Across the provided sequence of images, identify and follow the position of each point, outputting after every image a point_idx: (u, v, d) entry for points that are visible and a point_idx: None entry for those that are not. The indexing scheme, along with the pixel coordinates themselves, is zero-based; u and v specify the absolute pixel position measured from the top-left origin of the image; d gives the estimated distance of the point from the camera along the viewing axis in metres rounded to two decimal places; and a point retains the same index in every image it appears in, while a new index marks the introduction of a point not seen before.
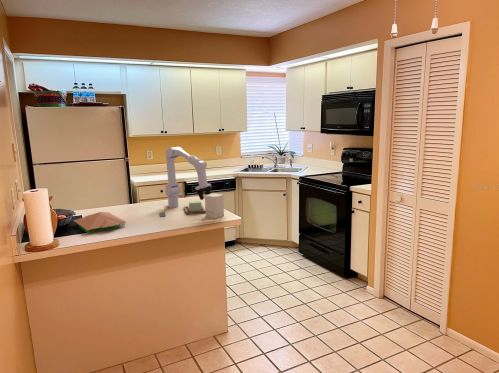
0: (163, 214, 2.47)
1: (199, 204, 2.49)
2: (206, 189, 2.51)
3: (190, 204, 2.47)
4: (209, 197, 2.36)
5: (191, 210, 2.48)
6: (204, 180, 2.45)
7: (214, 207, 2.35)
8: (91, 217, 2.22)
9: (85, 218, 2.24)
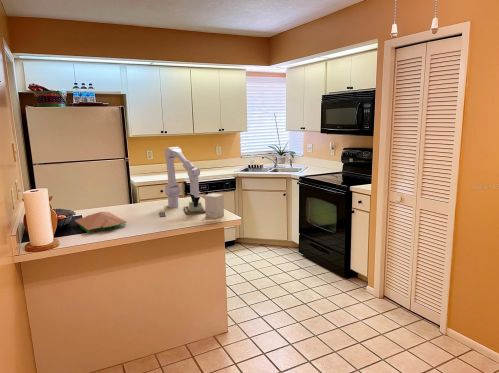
0: (163, 214, 2.47)
1: (199, 204, 2.49)
2: (193, 196, 2.53)
3: (190, 204, 2.47)
4: (209, 197, 2.36)
5: (191, 210, 2.48)
6: (198, 187, 2.47)
7: (214, 207, 2.35)
8: (92, 217, 2.22)
9: (86, 218, 2.24)
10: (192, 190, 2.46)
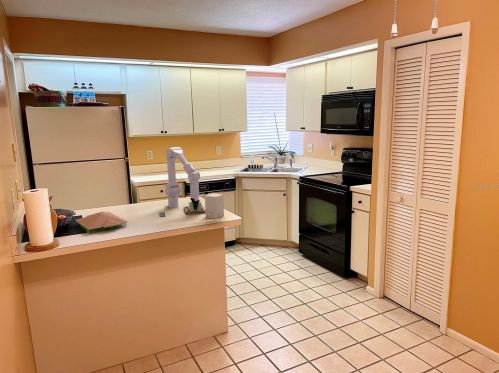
0: (163, 214, 2.47)
1: (199, 203, 2.49)
2: (193, 200, 2.52)
3: (190, 204, 2.47)
4: (209, 197, 2.36)
5: (191, 210, 2.48)
6: (198, 191, 2.48)
7: (214, 207, 2.35)
8: (93, 217, 2.22)
9: (86, 218, 2.24)
10: (192, 193, 2.46)
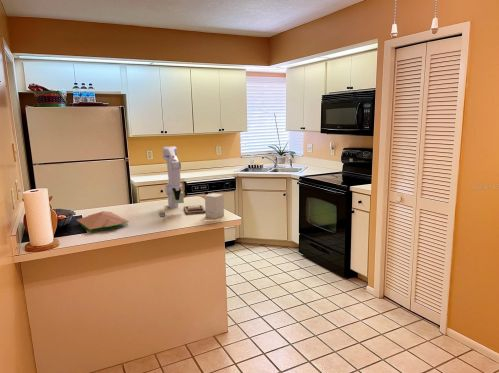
0: (163, 214, 2.47)
1: (181, 194, 2.47)
2: (175, 190, 2.49)
3: (172, 194, 2.45)
4: (209, 197, 2.36)
5: (173, 200, 2.46)
6: (180, 181, 2.45)
7: (214, 207, 2.35)
8: (94, 217, 2.23)
9: (88, 217, 2.25)
10: (174, 183, 2.44)
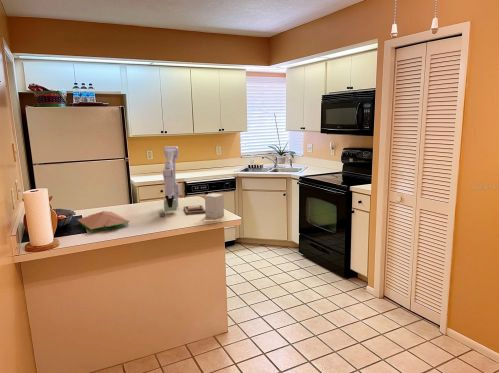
0: (163, 214, 2.47)
1: (174, 201, 2.47)
2: None
3: (165, 202, 2.45)
4: (209, 197, 2.36)
5: (166, 208, 2.46)
6: (172, 188, 2.46)
7: (214, 207, 2.35)
8: (95, 216, 2.23)
9: (88, 217, 2.25)
10: (166, 191, 2.44)
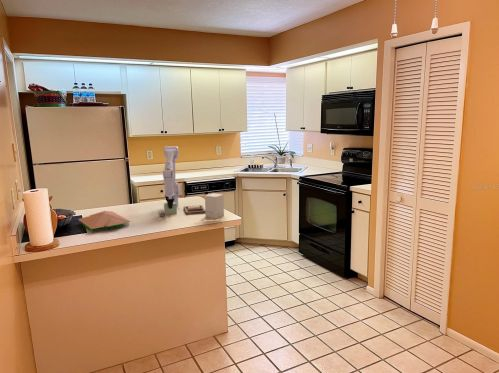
0: (163, 214, 2.47)
1: (174, 205, 2.47)
2: (168, 197, 2.51)
3: (165, 205, 2.46)
4: (209, 197, 2.36)
5: (166, 211, 2.47)
6: (173, 189, 2.46)
7: (214, 207, 2.35)
8: (96, 216, 2.24)
9: (89, 217, 2.26)
10: (166, 191, 2.44)
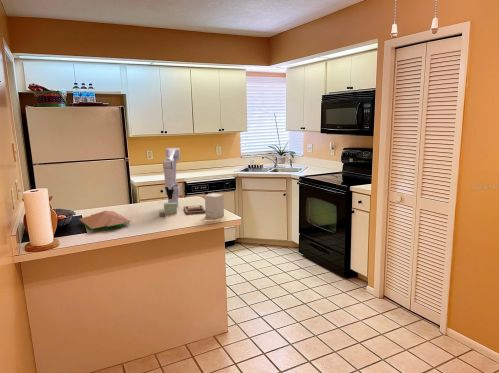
0: (163, 214, 2.47)
1: (174, 205, 2.47)
2: (168, 188, 2.54)
3: (165, 205, 2.46)
4: (209, 197, 2.36)
5: (166, 211, 2.47)
6: (172, 180, 2.48)
7: (214, 207, 2.35)
8: (96, 216, 2.24)
9: (90, 217, 2.26)
10: (166, 182, 2.47)
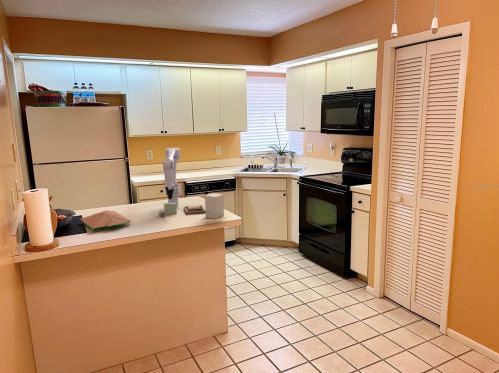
0: (163, 214, 2.47)
1: (174, 205, 2.47)
2: (168, 188, 2.54)
3: (165, 205, 2.46)
4: (209, 197, 2.36)
5: (166, 211, 2.47)
6: (172, 180, 2.48)
7: (214, 207, 2.35)
8: (97, 216, 2.25)
9: (91, 217, 2.27)
10: (166, 182, 2.47)
